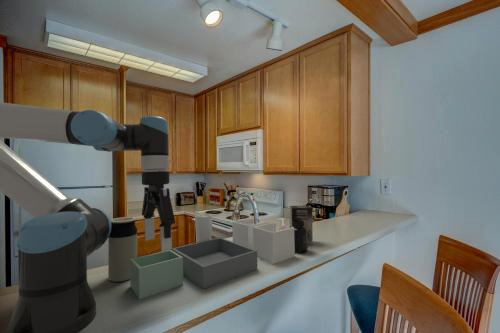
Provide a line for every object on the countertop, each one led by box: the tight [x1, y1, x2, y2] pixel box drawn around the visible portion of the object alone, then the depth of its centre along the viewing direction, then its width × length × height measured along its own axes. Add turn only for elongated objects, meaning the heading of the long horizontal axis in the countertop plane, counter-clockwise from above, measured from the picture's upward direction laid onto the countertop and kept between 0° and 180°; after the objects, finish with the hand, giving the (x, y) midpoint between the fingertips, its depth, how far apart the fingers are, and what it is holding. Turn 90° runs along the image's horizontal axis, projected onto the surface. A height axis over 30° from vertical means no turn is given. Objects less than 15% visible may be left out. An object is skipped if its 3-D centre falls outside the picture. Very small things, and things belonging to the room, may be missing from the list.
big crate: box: [171, 237, 258, 290], centre depth 83 cm, size 20×22×6 cm
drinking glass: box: [194, 213, 213, 243], centre depth 98 cm, size 7×7×15 cm
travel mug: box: [107, 216, 138, 283], centre depth 77 cm, size 8×8×18 cm
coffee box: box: [289, 205, 314, 246], centre depth 108 cm, size 9×6×16 cm
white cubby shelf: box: [231, 217, 296, 265], centre depth 98 cm, size 25×11×11 cm, turn 39°
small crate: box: [129, 249, 184, 300], centre depth 71 cm, size 12×9×8 cm
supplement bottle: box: [292, 220, 309, 254], centre depth 98 cm, size 7×7×12 cm
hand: (157, 244), depth 71 cm, fingers open, 13 cm apart
